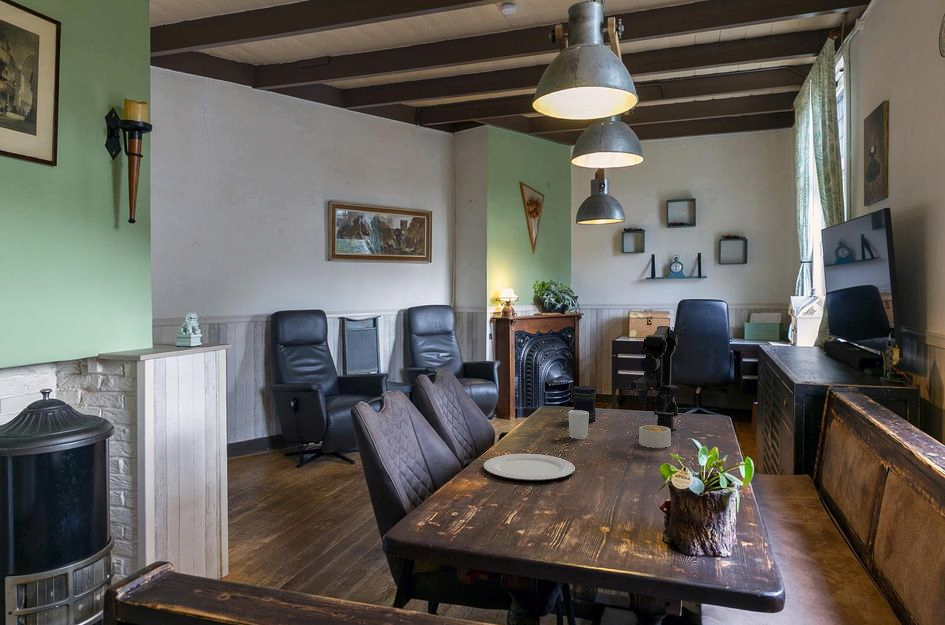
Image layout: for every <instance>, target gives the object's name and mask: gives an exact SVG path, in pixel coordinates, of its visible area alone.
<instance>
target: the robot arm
mask: <svg viewBox="0 0 945 625" xmlns="http://www.w3.org/2000/svg"><path fill="white" fill-rule="evenodd" d="M678 342H679V340H678V335H677V332H675V331H674V330H672V329H671V326H669V325H658V326H656V330H655V332H653V334H648V335H646V336H645V338H644V339H643V342H642V343H643V344H642V348H641V355H645V357H644V358H643V359H642V360H641V363H640V367H641V369H642V371H643V376H641V377H640V378H638V379H636V380H632V381H631V382H630V384H629V385H630V386H629V388H630V389H631V390H632V391H633V392H635V394H637V396H638V398H639V401H640V404H641V407H642V408H643V409H645V408H646V407H647V402H648V393H649V390H653V391H658V393H657V394H656V396H655V400H654V401H653V412H654V413H653V414H654V415H655V416H657V421H656V423H657V424H656V426H663V427H667V428H669V429H671V432H673V431H677V428H675V427H674V418H675V417H678V416H679V408H678V405H677V402H676V401H675V400H676V398H675V397H676V396H677V395H678V394H680V388H679V387H678V386H677V385H672V366H673V365H672V359H673V354H674V353H675V352H676V351H677V350H676V349H677V346H678V344H679V343H678Z"/></svg>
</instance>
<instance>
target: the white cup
mask: <svg viewBox="0 0 945 625" xmlns="http://www.w3.org/2000/svg"><path fill="white" fill-rule="evenodd" d="M588 420H589V412H587V411H582V410H569V411H568V430H569V438H570V437H571V439H573V438H575V439H574V440H586V439H587V438H588V431H589V423H588ZM585 438H586V439H585Z"/></svg>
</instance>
